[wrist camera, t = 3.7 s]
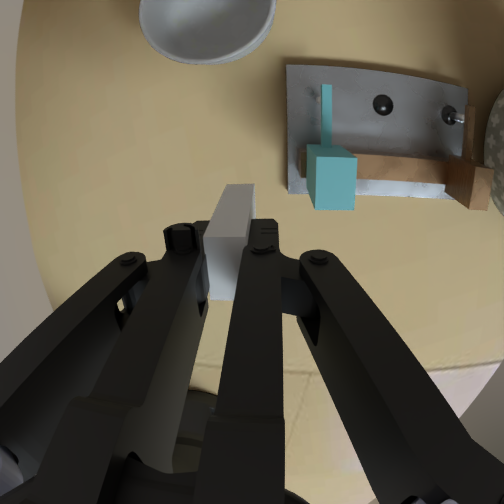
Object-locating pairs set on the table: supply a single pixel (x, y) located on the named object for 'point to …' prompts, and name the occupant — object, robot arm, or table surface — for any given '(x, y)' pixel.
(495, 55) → the table surface
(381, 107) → the gauge board
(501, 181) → the planter
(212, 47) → the teacup
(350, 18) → the table surface
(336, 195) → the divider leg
